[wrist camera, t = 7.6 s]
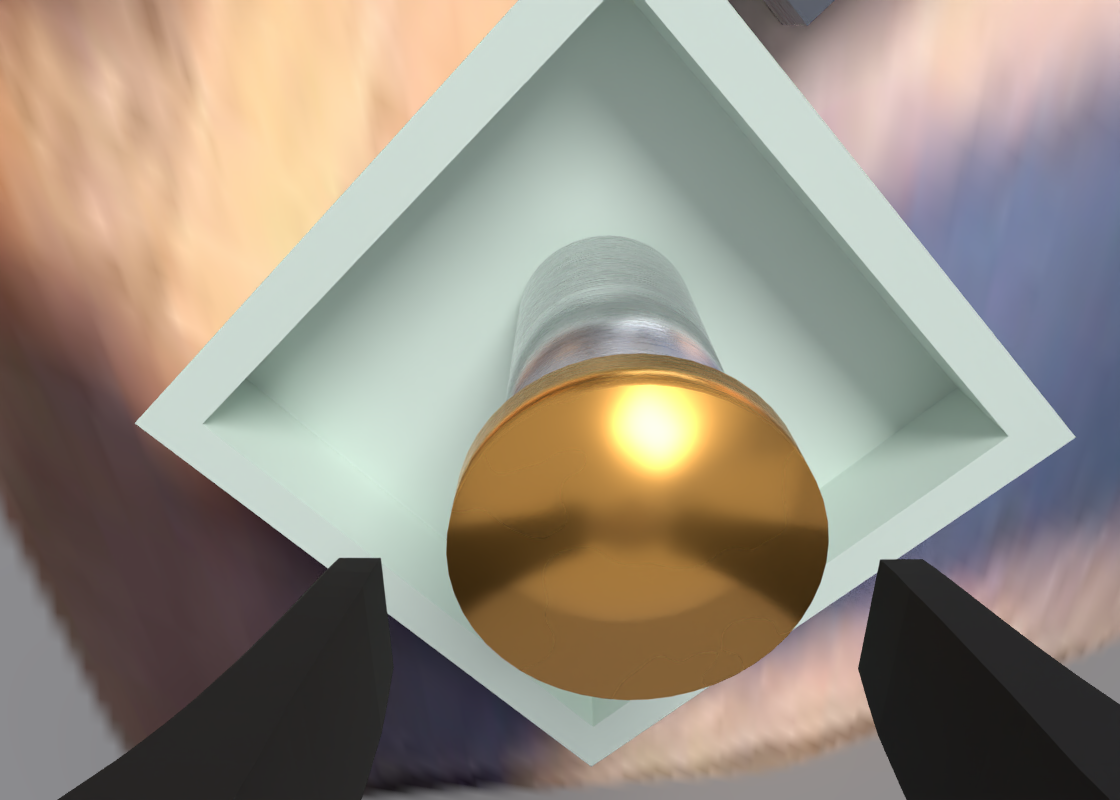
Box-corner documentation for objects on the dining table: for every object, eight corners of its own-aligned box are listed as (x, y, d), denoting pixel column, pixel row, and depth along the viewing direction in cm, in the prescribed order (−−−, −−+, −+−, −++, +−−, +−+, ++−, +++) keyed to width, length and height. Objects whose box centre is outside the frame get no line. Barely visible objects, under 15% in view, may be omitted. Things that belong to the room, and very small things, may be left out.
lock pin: (759, 325, 19) (904, 564, 11) (598, 455, 20) (621, 751, 12) (613, 163, 17) (657, 302, 9) (451, 317, 19) (366, 551, 11)
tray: (997, 371, 21) (1076, 437, 17) (588, 670, 25) (591, 766, 22) (617, -97, 16) (629, -123, 13) (201, 359, 21) (135, 423, 17)
